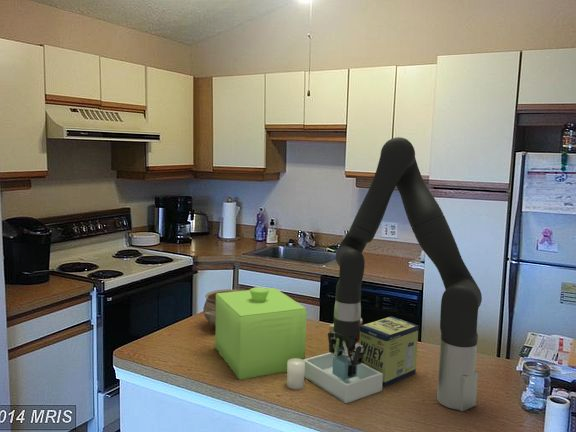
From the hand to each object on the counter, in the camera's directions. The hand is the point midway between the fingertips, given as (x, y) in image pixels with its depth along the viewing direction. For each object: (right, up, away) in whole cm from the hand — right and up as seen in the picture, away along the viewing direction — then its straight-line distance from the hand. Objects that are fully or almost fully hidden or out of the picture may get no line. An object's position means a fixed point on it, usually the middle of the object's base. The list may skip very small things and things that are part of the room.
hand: (344, 372), depth 141 cm
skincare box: (0, -2, +17) cm, 17 cm away
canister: (-26, -1, +18) cm, 32 cm away
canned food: (+5, -1, +26) cm, 27 cm away
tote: (-1, -3, +2) cm, 4 cm away
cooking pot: (-39, +3, +45) cm, 60 cm away
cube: (0, -1, 0) cm, 1 cm away
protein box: (+14, -3, +8) cm, 16 cm away
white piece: (-14, -3, -1) cm, 15 cm away
